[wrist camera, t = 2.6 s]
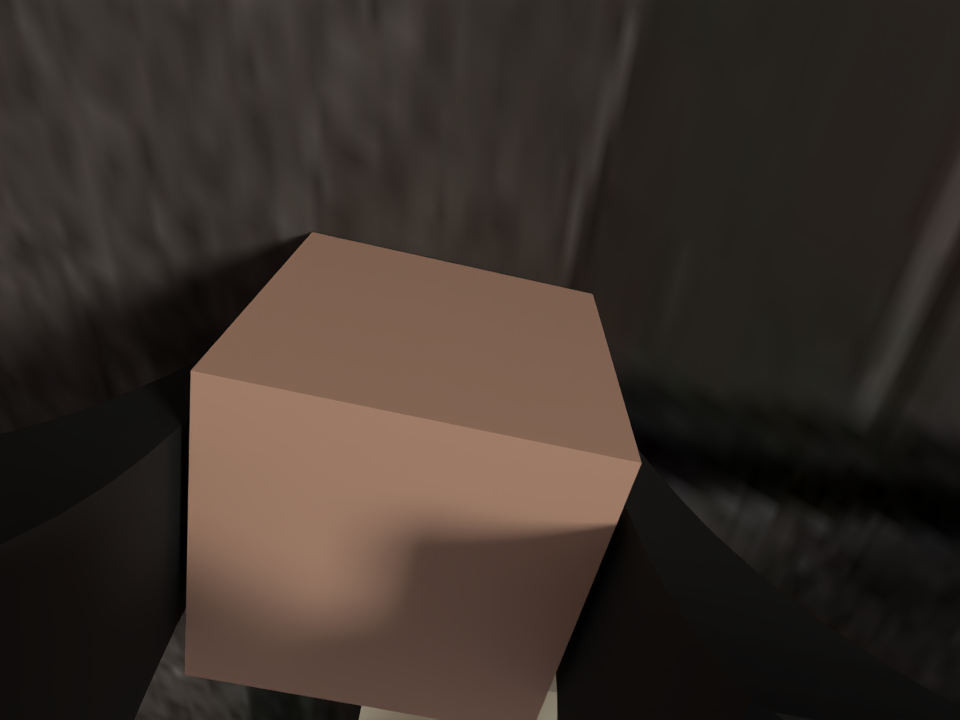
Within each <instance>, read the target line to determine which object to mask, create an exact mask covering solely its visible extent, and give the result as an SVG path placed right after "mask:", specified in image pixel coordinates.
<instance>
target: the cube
mask: <svg viewBox="0 0 960 720" xmlns="http://www.w3.org/2000/svg"><path fill="white" fill-rule="evenodd" d="M640 466H641V459H640V456H639V452H638V449H637V446H636V442H635V439H634V435H633V432H632V428H631V425H630V421H629V418H628V414H627V411H626V408H625V404H624V401H623V397H622V394H621V390H620V387H619V383H618V380H617V377H616V373H615V370H614V366H613V363H612V359H611V356H610V352H609V349H608V345H607V342H606V339H605V335H604V332H603V328H602V325H601V321H600V318H599V314H598V311H597V308H596V304H595V301H594V297H593V294H590V293H585V292H581V291H576V290H572V289H567V288H563V287H558V286H553V285H549V284H544V283H540V282H535V281H531V280H526V279H522V278H517V277H513V276H508V275H504V274H499V273H495V272H490V271H486V270H481V269H477V268H472V267H468V266H463V265H458V264H454V263H449V262H445V261H440V260H436V259H431V258H427V257H422V256H418V255H413V254H409V253H404V252H400V251H395V250H391V249H386V248H382V247H377V246H373V245H368V244H363V243H359V242H354V241H350V240H345V239H341V238H336V237H332V236H327V235H323V234H318V233H314V232H312V233H311V234H310V235H309V236H308V238H307V239H306V240H305V241H304V242H303V243H302V244H301V245H300V247H299V248H298V249H297V250H296V251H295V252H294V253H293V255H292V256H291V257H290V258H289V259H288V260H287V261H286V263H285V264H284V265H283V266H282V267H281V268H280V269H279V271H278V272H277V273H276V274H275V275H274V276H273V277H272V279H271V280H270V281H269V282H268V283H267V284H266V285H265V287H264V288H263V289H262V290H261V291H260V292H259V293H258V295H257V296H256V297H255V298H254V299H253V300H252V301H251V303H250V304H249V305H248V306H247V307H246V308H245V309H244V310H243V312H242V313H241V314H240V315H239V316H238V317H237V318H236V320H235V321H234V322H233V323H232V324H231V325H230V326H229V328H228V329H227V330H226V331H225V332H224V333H223V334H222V336H221V337H220V338H219V339H218V340H217V341H216V342H215V344H214V345H213V346H212V347H211V348H210V349H209V350H208V352H207V353H206V354H205V355H204V356H203V357H202V358H201V360H200V361H199V362H198V363H197V364H196V365H195V366H194V368H193V369H192V370H191V383H190V434H189V485H188V536H187V587H186V638H185V675H189V676H195V677H201V678H206V679H212V680H218V681H223V682H229V683H235V684H240V685H246V686H252V687H257V688H263V689H269V690H275V691H280V692H286V693H292V694H297V695H303V696H309V697H314V698H320V699H326V700H331V701H337V702H343V703H349V704H354V705H360V706H366V707H371V708H377V709H383V710H388V711H394V712H400V713H406V714H411V715H417V716H423V717H428V718H434V719H440V720H537V718H538V715H539V713H540V710H541V708H542V706H543V703H544V701H545V698H546V696H547V693H548V691H549V688H550V686H551V684H552V681H553V679H554V676H555V674H556V671H557V669H558V666H559V664H560V662H561V659H562V657H563V654H564V652H565V649H566V647H567V644H568V642H569V640H570V637H571V635H572V632H573V630H574V627H575V625H576V622H577V620H578V617H579V615H580V613H581V610H582V608H583V605H584V603H585V600H586V598H587V595H588V593H589V591H590V588H591V586H592V583H593V581H594V578H595V576H596V573H597V571H598V569H599V566H600V564H601V561H602V559H603V556H604V554H605V551H606V549H607V547H608V544H609V542H610V539H611V537H612V534H613V532H614V529H615V527H616V525H617V522H618V520H619V517H620V515H621V512H622V510H623V507H624V505H625V503H626V500H627V498H628V495H629V493H630V490H631V488H632V485H633V483H634V480H635V478H636V476H637V473H638V471H639V468H640Z"/></svg>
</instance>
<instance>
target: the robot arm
mask: <svg viewBox="0 0 960 720" xmlns="http://www.w3.org/2000/svg"><path fill="white" fill-rule="evenodd" d="M199 361H200V360H199ZM199 361H197V362H195V363H193V364H191V365H189V366H187V367H184V368H182V369H180V370H178V371H176V372H174V373H172V374H170V375H167V376H165V377H163V378H161V379H159V380H157V381H154V382H152V383H149V384H147V385H145V386H142V387H140V388H137V389H135V390H133V391H130V392H128V393H125V394H123V395H121V396H118V397H116V398H113V399H111V400H108V401H106V402H104V403H101V404H98V405H95V406H93V407H90V408H87V409H84V410H81V411H79V412H76V413H73V414H70V415H67V416H63V417H60V418H57V419H54V420H51V421H47V422H44V423H41V424H38V425H35V426H31V427H28V428H24V429H21V430H16V431H12V432H8V433H4V434H0V720H134V718H135V716H136V714H137V712H138V709H139V707H140V705H141V702H142V700H143V698H144V696H145V693H146V691H147V689H148V686H149V684H150V682H151V680H152V678H153V675H154V673H155V671H156V669H157V667H158V664H159V662H160V660H161V658H162V656H163V654H164V651H165V649H166V647H167V645H168V643H169V640H170V638H171V636H172V634H173V632H174V630H175V627H176V625H177V623H178V621H179V620H180V618H181V616H182V614H183V612H184V610H185V608H186V587H187V536H188V485H189V434H190V383H191V370H192V369H193V368H194V366H195V365H196V364H197V363H198V362H199ZM638 452H639V456H640V459H641V466H640V468H639V471H638V473H637V476H636V478H635V480H634V483H633V485H632V488H631V490H630V493H629V495H628V498H627V500H626V503H625V505H624V507H623V510H622V512H621V515H620V517H619V520H618V522H617V525H616V527H615V529H614V532H613V534H612V537H611V539H610V542H609V544H608V547H607V549H606V551H605V554H604V556H603V559H602V561H601V564H600V566H599V569H598V571H597V573H596V576H595V578H594V581H593V583H592V586H591V588H590V591H589V593H588V595H587V598H586V600H585V603H584V605H583V608H582V610H581V613H580V615H579V617H578V620H577V622H576V625H575V627H574V630H573V632H572V635H571V637H570V640H569V642H568V644H567V647H566V649H565V652H564V654H563V657H562V659H561V662H560V664H559V666H558V669H557V671H556V685H557V720H960V707H959V706H957V705H955V704H954V703H952V702H950V701H948V700H947V699H945V698H943V697H941V696H940V695H938V694H936V693H934V692H932V691H931V690H929V689H927V688H925V687H924V686H922V685H920V684H918V683H917V682H915V681H913V680H911V679H910V678H908V677H906V676H904V675H903V674H901V673H899V672H897V671H896V670H894V669H892V668H891V667H889V666H888V665H886V664H884V663H883V662H881V661H880V660H878V659H877V658H875V657H874V656H872V655H871V654H869V653H867V652H866V651H864V650H863V649H861V648H860V647H858V646H857V645H855V644H854V643H852V642H850V641H849V640H847V639H846V638H844V637H843V636H841V635H840V634H838V633H837V632H836V631H834V630H833V629H831V628H830V627H828V626H827V625H825V624H824V623H823V622H821V621H820V620H818V619H817V618H815V617H814V616H813V615H811V614H810V613H809V612H807V611H806V610H805V609H803V608H802V607H801V606H799V605H798V604H797V603H795V602H794V601H793V600H791V599H790V598H789V597H788V596H786V595H785V594H784V593H782V592H781V591H780V590H778V589H777V588H776V587H774V586H773V585H772V584H771V583H769V582H768V581H767V580H766V579H765V578H763V577H762V576H761V575H760V574H758V573H757V572H756V571H755V570H754V569H753V568H751V567H750V566H749V565H748V564H747V563H746V562H745V561H744V560H742V559H741V558H740V557H739V556H738V555H737V554H736V553H735V552H733V551H732V550H731V549H730V548H729V547H728V546H727V545H725V544H724V543H723V542H722V541H721V540H720V539H719V538H718V537H717V536H716V535H715V534H714V533H713V532H712V531H711V530H710V529H709V528H708V527H707V526H706V525H705V524H704V523H703V522H702V521H701V520H700V519H699V518H698V517H697V516H696V515H695V514H694V513H693V512H692V511H691V510H690V509H689V508H688V506H687V505H686V504H685V503H684V502H683V501H682V500H681V499H680V498H679V497H678V496H677V494H676V493H675V492H674V491H673V490H672V489H671V488H670V487H669V486H668V484H667V483H666V482H665V481H664V480H663V479H662V477H661V476H660V475H659V474H658V473H657V472H656V470H655V469H654V468H653V467H652V466H651V464H650V463H649V462H648V461H647V460H646V458H645V457H644V456H643V455H642V453H641V452H640V451H639V450H638Z"/></svg>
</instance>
